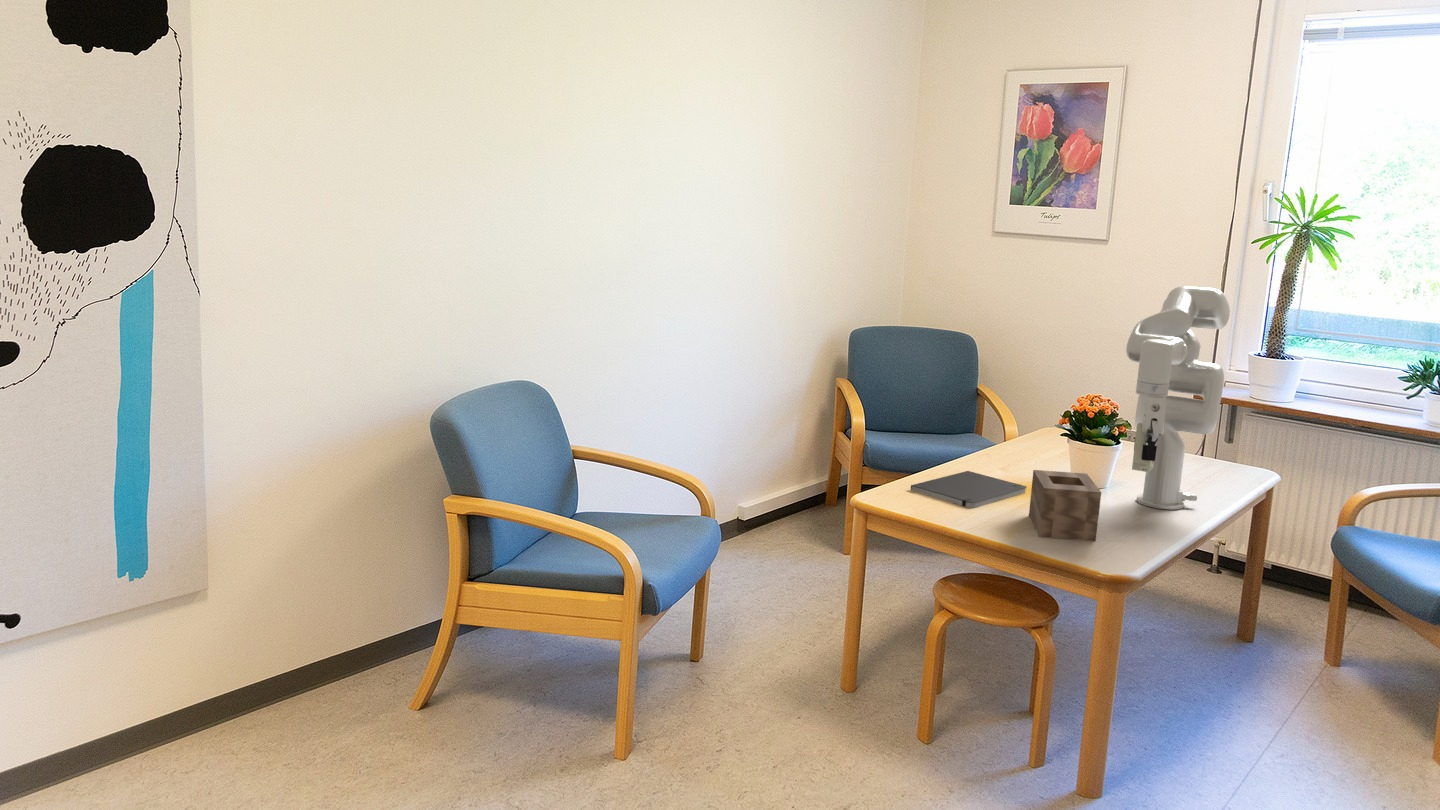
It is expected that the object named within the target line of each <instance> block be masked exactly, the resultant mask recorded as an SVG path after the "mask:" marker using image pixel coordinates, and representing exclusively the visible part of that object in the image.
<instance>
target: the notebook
mask: <svg viewBox="0 0 1440 810" xmlns="http://www.w3.org/2000/svg"><path fill="white" fill-rule="evenodd" d="M1026 490H1027V486H1026V485H1022V484H1019V483H1017V482H1016V483H1015V482H1011V481H1008V480H1004V479H1002V478H1001V479H1000V478H995V477H993V476H988V475H985V474H981V473H979V472H978V473H977V472H974V471H970V470H965V471H962V472H957V473H954V474H950V475H946V476H941V477H938V478H934V479H930V480H926V481H922V482H918V483H914V484H911V485H910V491H912V492H915V493H919V494H922V495H925V496H928V497H931V498H935V499H937V500H938V499H939V500H942V501H944V502H948V503H952V504H956V505H959V506H962V507H965V508H969V509H975V508H979V507H982V506H985V505H988V504H993V503H995V502H999V501H1003V500H1006V499H1010V498H1013V497H1016V496H1020V495H1022V494H1026Z"/></svg>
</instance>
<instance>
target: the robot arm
mask: <svg viewBox="0 0 1440 810" xmlns="http://www.w3.org/2000/svg"><path fill="white" fill-rule="evenodd" d="M1167 294H1168V295H1167V296H1166V299H1165V300H1164V301H1163V303H1162V307H1161V310H1160V312H1158V313H1155V314H1152V315H1150V316H1147V317H1146V318H1144V319H1142V320H1141V319H1140V321H1139V322H1137V323H1136V324H1135V326H1134V327H1133V329H1132V331H1131V333H1130V336H1129V337H1128V340H1127V343H1126V348H1125V351H1126V355H1127V357H1128V359H1129V360H1130V361H1132V362H1135V363H1138V369H1137V370H1138V371H1137V379H1136V386H1135V394H1137V395H1138V397H1137V404H1136V410H1135V418H1134V422H1135V423H1134V424H1135V425H1134V426H1135V427H1136V428H1137V424H1138V423H1140V424H1141V432H1142V433H1143V434H1144V436H1145V445H1144V444H1143V450H1142V458H1141V459H1142V460H1146V461H1154V465H1153V468H1152V470H1151V471H1150V472H1145V477H1144V484H1143V493H1140V494H1138V495H1137V496H1136V501H1137V502H1138V504H1141V505H1143V506H1146V507H1150V508H1152V509H1153V508H1154V509H1161V510H1168V511H1169V510H1170V511H1171V510H1174V511H1175V510H1179V509H1182V508H1183V507H1184V506H1185V501H1189V502H1190V501H1191V502H1196V501H1197V500H1198V495H1197V494H1195V493H1190V492H1188V491H1187V492H1186V491H1185V492H1184V491H1182V490H1181V483H1182V475H1183V468H1184V460H1185V453H1186V445H1185V441H1184V440H1183V437H1182V436H1181V434H1179V432H1185V433H1190V434H1200V435H1210V434H1212V433H1213V432H1214V431H1215V429H1216V427H1217V423H1218V418H1219V414H1220V413H1219V412H1220V408H1221V401H1222V396H1223V395H1222V394H1223V389H1224V382H1225V373H1224V369H1223V367H1222V366H1221V365H1219V364H1217V363H1213V362H1207V361H1199V356H1200V351H1201V342H1200V341H1199V339H1198V337H1197V336H1196V334H1195V332H1194V331H1193V330H1192V329H1191V328H1197V329H1207V330H1208V329H1209V330H1222V329H1223V328H1224V327H1226V325H1227V324H1228V322H1229V319H1230V315H1231V314H1230V313H1231V309H1230V305H1229V301H1228V299H1227V297H1226V295H1225V293H1224V292H1223V291H1221V290H1220V289H1217V288H1215V287H1214V288H1213V287H1200V286H1189V285H1184V286H1177V287H1175V288H1173V289H1172V290H1170V291H1169V293H1167ZM1169 392H1172V393H1176V394H1177V393H1179V394H1184V395H1185V394H1187V395H1193V396H1200V397H1202V399H1199V398H1189V397H1186V396H1185V397H1184V396H1183V397H1182V396H1175V395H1169ZM1150 424H1151V425H1150ZM1150 430H1152V433H1147V431H1150ZM1148 436H1151V437H1149V439H1148ZM1135 439H1136V436H1135V437H1134V440H1135ZM1133 445H1134V446H1133V448H1134V447H1135V443H1134V444H1133Z"/></svg>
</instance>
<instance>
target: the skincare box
mask: <svg viewBox="0 0 1440 810" xmlns="http://www.w3.org/2000/svg"><path fill="white" fill-rule="evenodd" d="M1150 425H1151V424H1150ZM1147 433H1152V430H1150V431H1147ZM1135 437H1136V439H1135V438H1134V444H1135V447H1134V446H1133V457H1132V465H1131V470H1133V471H1139V472H1145V473H1146V472H1150V471H1151V470H1152V468H1153V465H1154V461H1146V460H1142V459H1141V458H1142V450H1143V444H1144V445H1145V436H1144V434H1143V433H1142V432H1141V424H1140V423H1138V424H1137V427H1136V430H1135ZM1149 437H1151V436H1148V439H1149Z"/></svg>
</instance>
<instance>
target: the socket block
mask: <svg viewBox="0 0 1440 810" xmlns="http://www.w3.org/2000/svg"><path fill="white" fill-rule="evenodd" d="M1101 499H1102V491H1101V490H1100V489H1099V487H1098V486H1097V485H1096V483H1095V482H1094V481H1093V479H1092V478H1091V477H1090V476H1089V473H1085V472H1084V473H1083V472H1071V471H1070V472H1069V471H1056V470H1054V471H1053V470H1041V469H1038V470H1037V469H1033V471H1032V481H1031V491H1030V500H1029V501H1030V502H1029V509H1028V517H1029V520H1030V522H1031V524H1033V527H1034V530H1035V532H1036V533H1037V536H1038V537H1039V538H1049V539H1050V538H1051V539H1064V540H1074V541H1075V540H1076V541H1086V542H1087V541H1089V542H1097V535H1098V534H1097V533H1098V525H1099V516H1100V507H1101Z"/></svg>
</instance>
